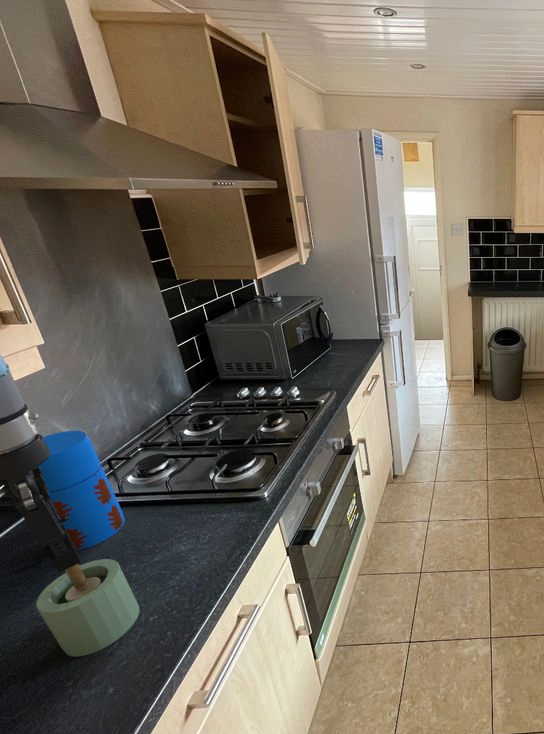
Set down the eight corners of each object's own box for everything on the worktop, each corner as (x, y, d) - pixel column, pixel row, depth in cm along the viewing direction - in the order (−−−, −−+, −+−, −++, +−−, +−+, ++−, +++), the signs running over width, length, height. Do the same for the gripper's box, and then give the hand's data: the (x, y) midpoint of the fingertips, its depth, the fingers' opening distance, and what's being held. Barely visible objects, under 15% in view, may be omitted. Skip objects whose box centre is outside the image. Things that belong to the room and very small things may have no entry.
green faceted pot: (67, 670, 69) (39, 625, 65) (59, 630, 75) (33, 587, 71) (145, 623, 76) (124, 580, 72) (132, 591, 82) (112, 549, 78)
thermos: (114, 513, 101) (73, 425, 92) (137, 528, 97) (97, 437, 87) (53, 545, 92) (2, 451, 83) (76, 563, 88) (24, 466, 78)
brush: (77, 622, 70) (28, 538, 63) (73, 607, 73) (25, 524, 66) (111, 604, 74) (68, 521, 66) (106, 589, 76) (64, 509, 69)
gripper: (46, 451, 59) (107, 571, 68) (36, 417, 67) (91, 527, 76) (-38, 478, 53) (40, 605, 62) (-37, 437, 62) (32, 554, 71)
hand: (68, 562), depth 69 cm, fingers closed on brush, 2 cm apart
